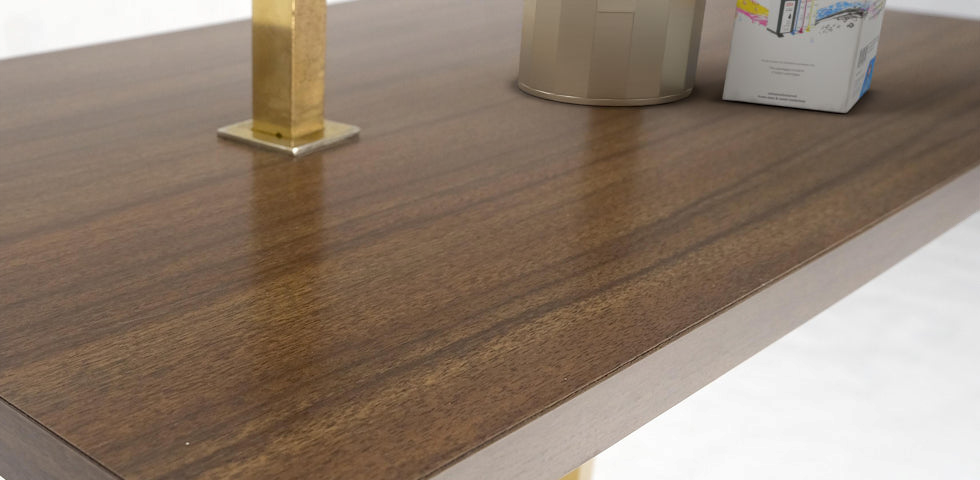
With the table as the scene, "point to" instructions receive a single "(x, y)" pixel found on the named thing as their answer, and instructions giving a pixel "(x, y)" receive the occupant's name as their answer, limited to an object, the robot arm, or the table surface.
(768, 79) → the ink box
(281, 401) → the table surface
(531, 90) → the pot
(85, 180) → the table surface
